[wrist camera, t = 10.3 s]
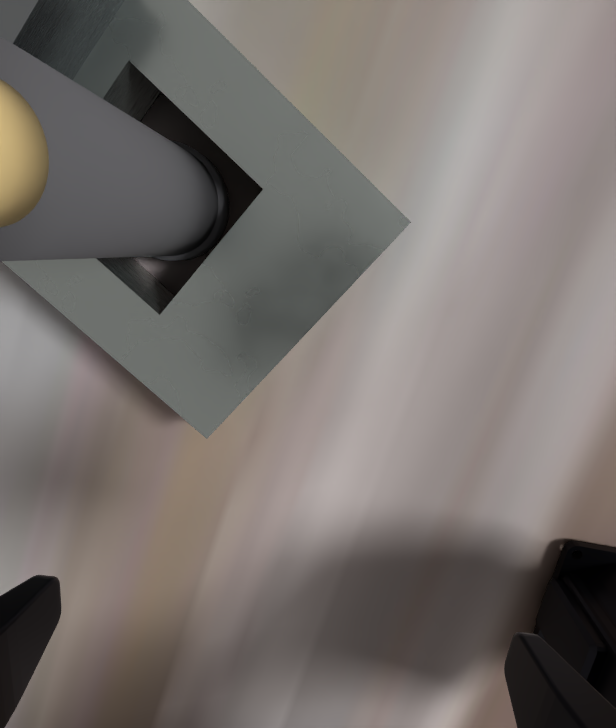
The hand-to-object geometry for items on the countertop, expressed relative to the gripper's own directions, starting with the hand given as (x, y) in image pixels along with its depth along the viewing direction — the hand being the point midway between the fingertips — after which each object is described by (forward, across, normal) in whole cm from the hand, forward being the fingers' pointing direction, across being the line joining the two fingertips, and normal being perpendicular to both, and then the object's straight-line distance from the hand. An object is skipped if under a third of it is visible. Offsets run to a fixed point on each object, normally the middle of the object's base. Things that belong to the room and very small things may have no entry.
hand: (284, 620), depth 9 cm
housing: (+14, +7, -8) cm, 17 cm away
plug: (+14, +7, -8) cm, 17 cm away
